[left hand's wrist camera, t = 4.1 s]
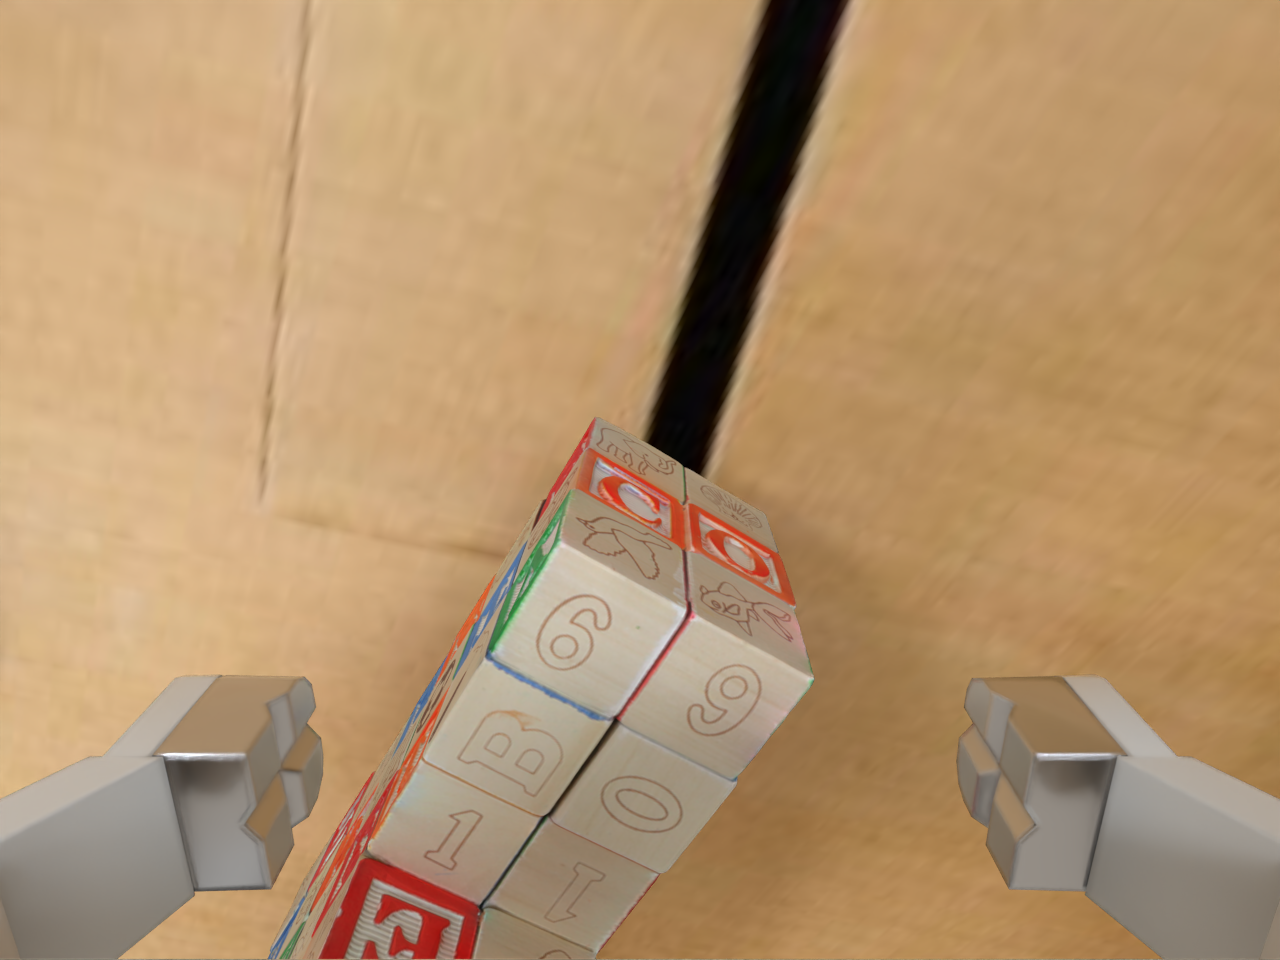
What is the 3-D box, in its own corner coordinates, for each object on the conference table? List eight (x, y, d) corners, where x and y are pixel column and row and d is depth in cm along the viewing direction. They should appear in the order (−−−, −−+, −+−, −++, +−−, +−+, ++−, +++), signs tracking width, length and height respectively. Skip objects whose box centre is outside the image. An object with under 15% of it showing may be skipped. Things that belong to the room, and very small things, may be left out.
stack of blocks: (592, 406, 25) (542, 612, 13) (769, 509, 26) (864, 784, 14) (301, 883, 31) (96, 1301, 20) (451, 950, 32) (342, 1384, 21)
